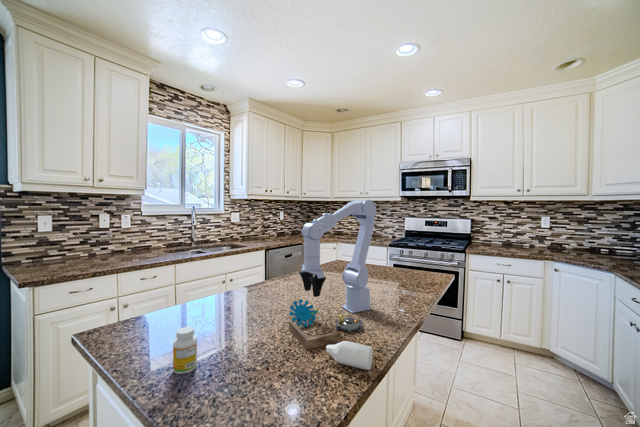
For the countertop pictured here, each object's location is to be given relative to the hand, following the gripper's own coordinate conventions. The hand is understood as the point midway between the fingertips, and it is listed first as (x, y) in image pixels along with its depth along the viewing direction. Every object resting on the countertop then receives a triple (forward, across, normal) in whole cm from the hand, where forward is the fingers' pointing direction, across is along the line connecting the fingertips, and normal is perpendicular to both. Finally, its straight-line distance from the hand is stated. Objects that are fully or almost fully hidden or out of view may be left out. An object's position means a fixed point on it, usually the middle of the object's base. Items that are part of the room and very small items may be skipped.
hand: (312, 293), depth 101 cm
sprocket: (+10, +11, +9) cm, 17 cm away
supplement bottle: (+9, +14, -42) cm, 45 cm away
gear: (+10, +2, -4) cm, 11 cm away
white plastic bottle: (+10, +30, -4) cm, 32 cm away
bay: (+9, +12, -5) cm, 16 cm away
